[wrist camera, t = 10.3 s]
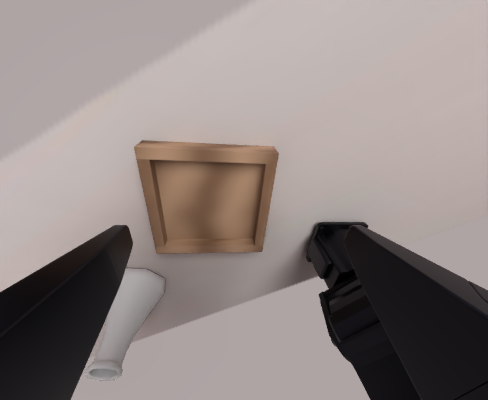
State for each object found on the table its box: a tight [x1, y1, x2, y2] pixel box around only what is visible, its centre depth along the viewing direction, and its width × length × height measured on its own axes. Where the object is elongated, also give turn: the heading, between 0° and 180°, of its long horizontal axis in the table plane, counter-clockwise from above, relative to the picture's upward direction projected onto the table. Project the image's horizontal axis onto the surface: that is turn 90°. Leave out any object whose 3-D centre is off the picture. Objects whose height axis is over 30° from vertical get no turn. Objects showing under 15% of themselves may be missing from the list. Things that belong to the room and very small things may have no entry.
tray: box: [134, 141, 279, 253], centre depth 21 cm, size 12×12×2 cm
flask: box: [85, 268, 165, 381], centre depth 23 cm, size 7×7×10 cm
